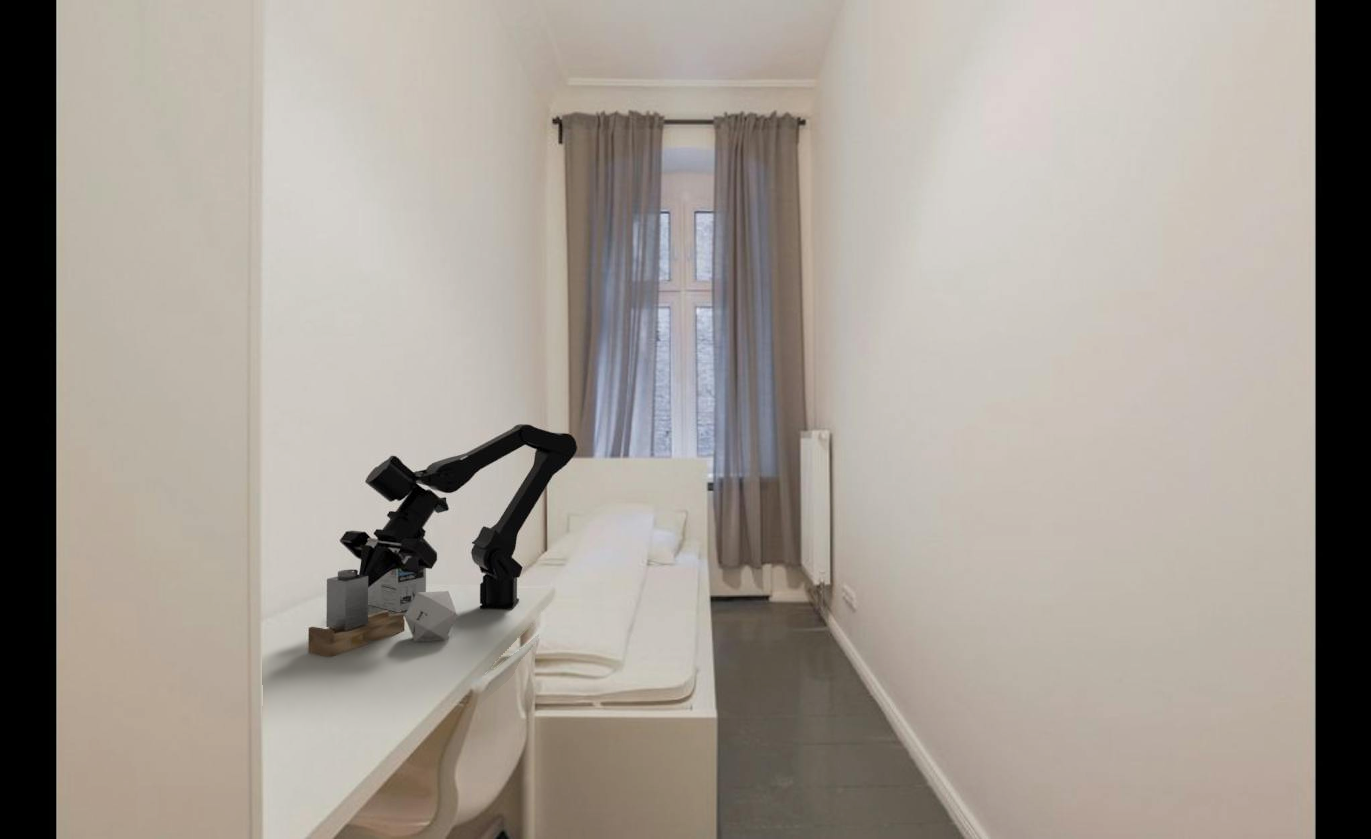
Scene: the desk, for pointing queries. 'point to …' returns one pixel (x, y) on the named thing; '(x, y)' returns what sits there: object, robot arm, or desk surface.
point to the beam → (354, 634)
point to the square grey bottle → (347, 601)
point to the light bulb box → (396, 590)
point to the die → (431, 616)
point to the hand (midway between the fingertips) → (359, 589)
